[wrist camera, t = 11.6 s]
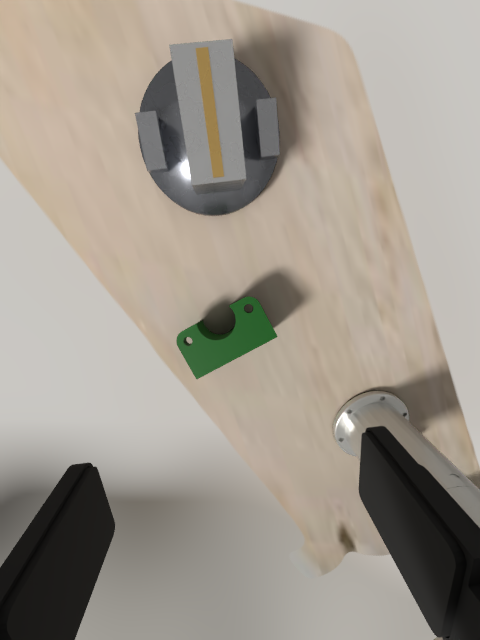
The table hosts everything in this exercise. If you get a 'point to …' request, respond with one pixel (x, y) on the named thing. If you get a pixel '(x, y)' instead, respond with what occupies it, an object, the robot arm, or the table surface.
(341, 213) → the table surface
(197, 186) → the striped grey block
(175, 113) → the shallow grey dish
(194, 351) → the clamp
